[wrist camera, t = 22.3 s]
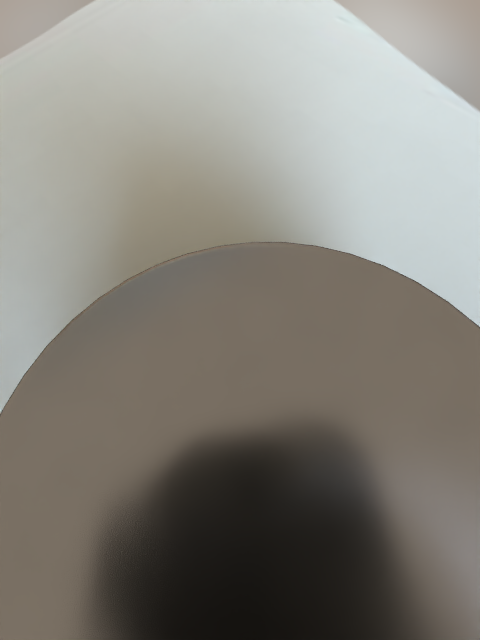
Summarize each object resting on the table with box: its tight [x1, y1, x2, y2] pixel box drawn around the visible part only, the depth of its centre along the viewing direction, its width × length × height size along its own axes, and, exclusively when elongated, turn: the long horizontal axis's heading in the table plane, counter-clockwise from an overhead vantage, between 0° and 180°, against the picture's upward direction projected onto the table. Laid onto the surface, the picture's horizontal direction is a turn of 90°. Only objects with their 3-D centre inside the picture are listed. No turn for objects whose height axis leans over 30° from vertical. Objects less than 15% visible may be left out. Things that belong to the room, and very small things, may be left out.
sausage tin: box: [0, 242, 480, 640], centre depth 9 cm, size 6×6×12 cm
